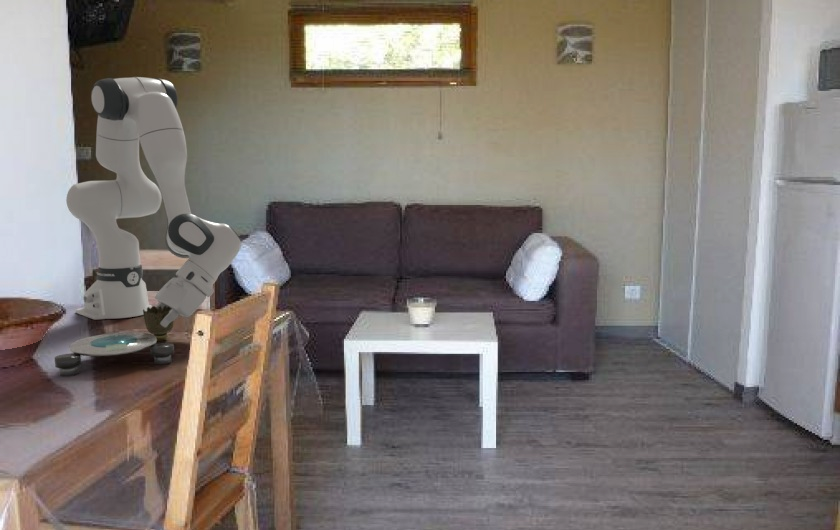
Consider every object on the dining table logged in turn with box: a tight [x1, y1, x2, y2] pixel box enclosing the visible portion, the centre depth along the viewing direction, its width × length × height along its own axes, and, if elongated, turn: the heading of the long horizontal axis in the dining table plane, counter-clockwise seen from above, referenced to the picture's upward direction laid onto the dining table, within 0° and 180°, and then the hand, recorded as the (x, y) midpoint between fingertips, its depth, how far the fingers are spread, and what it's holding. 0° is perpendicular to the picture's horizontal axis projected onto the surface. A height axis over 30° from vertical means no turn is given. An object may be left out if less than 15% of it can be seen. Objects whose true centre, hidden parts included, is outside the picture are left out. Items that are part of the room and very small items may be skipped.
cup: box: [143, 305, 175, 342], centre depth 185 cm, size 8×7×8 cm
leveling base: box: [54, 331, 175, 377], centre depth 164 cm, size 24×22×6 cm
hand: (156, 322), depth 185 cm, fingers closed on cup, 7 cm apart
